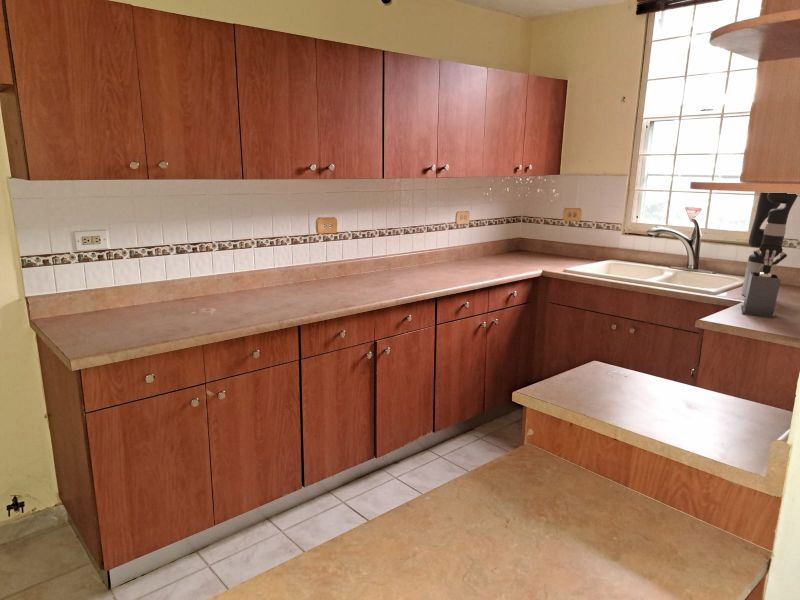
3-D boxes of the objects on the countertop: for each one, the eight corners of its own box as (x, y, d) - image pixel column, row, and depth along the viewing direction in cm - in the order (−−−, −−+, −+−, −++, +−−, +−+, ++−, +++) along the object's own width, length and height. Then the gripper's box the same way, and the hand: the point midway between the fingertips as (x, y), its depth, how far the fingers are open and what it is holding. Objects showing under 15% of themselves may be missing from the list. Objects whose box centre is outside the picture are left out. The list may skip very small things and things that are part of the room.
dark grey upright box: (741, 307, 264) (748, 271, 259) (771, 312, 259) (779, 274, 254) (742, 314, 253) (750, 276, 249) (774, 318, 248) (783, 279, 244)
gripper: (791, 234, 247) (782, 274, 252) (755, 231, 253) (747, 270, 257) (793, 236, 241) (784, 277, 245) (756, 233, 246) (748, 273, 251)
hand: (765, 273), depth 251 cm, fingers closed
